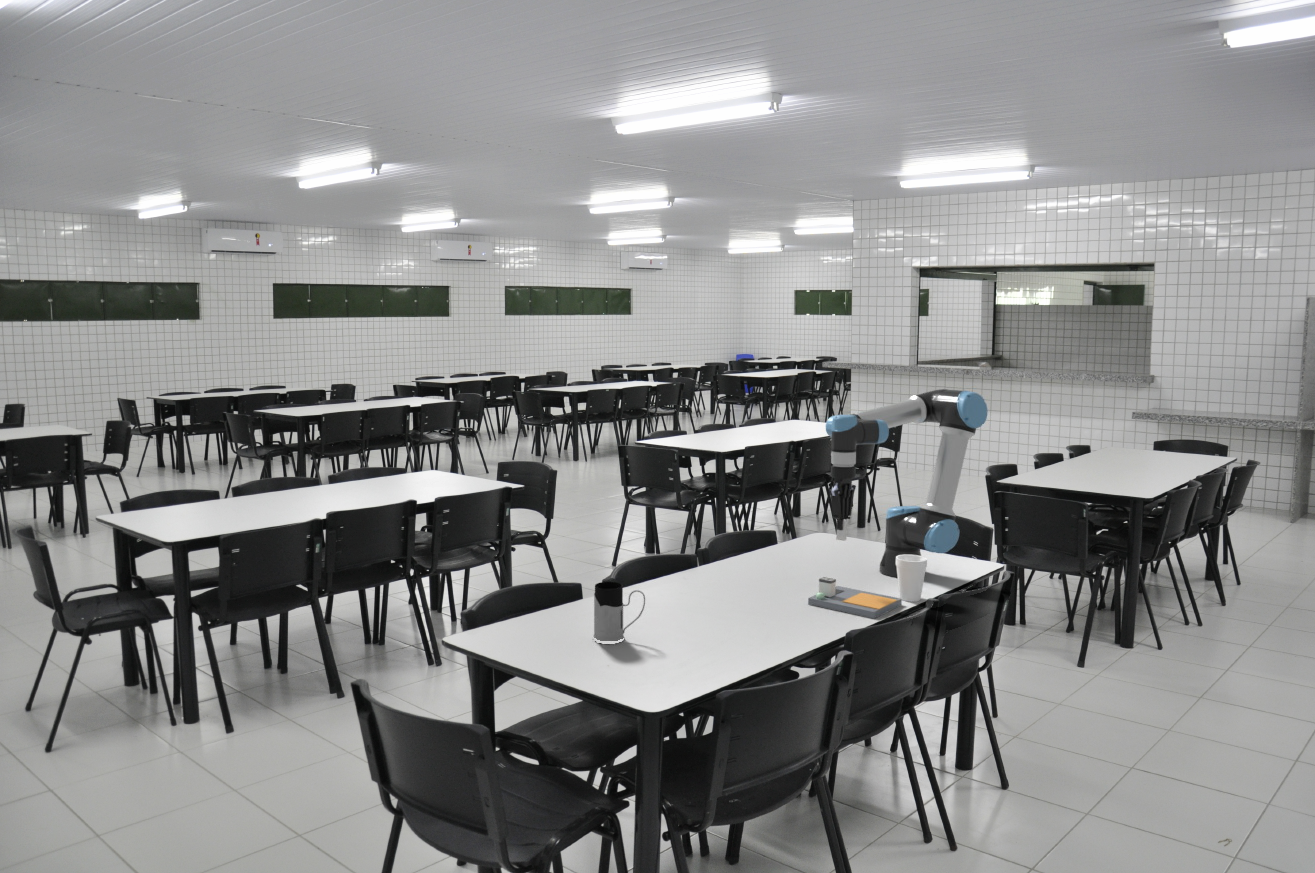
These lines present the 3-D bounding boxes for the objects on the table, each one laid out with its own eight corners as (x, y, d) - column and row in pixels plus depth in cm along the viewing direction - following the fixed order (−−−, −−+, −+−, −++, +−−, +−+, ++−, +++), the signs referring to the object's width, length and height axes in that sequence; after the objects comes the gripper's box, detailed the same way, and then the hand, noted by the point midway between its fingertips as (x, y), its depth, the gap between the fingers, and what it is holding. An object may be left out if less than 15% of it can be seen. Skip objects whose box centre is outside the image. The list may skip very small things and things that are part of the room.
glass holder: (594, 633, 266) (594, 580, 264) (645, 634, 265) (645, 581, 263) (590, 644, 257) (590, 589, 255) (644, 645, 256) (644, 590, 255)
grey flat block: (837, 591, 308) (837, 581, 308) (901, 604, 294) (901, 593, 294) (808, 604, 295) (808, 593, 294) (873, 618, 281) (874, 606, 280)
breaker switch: (823, 592, 299) (824, 576, 299) (835, 594, 297) (835, 579, 296) (818, 594, 297) (819, 578, 297) (830, 597, 295) (830, 581, 294)
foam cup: (926, 603, 296) (927, 562, 294) (895, 602, 297) (896, 560, 296) (924, 595, 305) (925, 555, 303) (893, 593, 307) (895, 553, 305)
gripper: (842, 461, 306) (840, 534, 309) (821, 466, 296) (820, 541, 299) (864, 463, 301) (862, 537, 304) (843, 468, 291) (841, 545, 294)
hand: (841, 539), depth 301 cm, fingers closed
